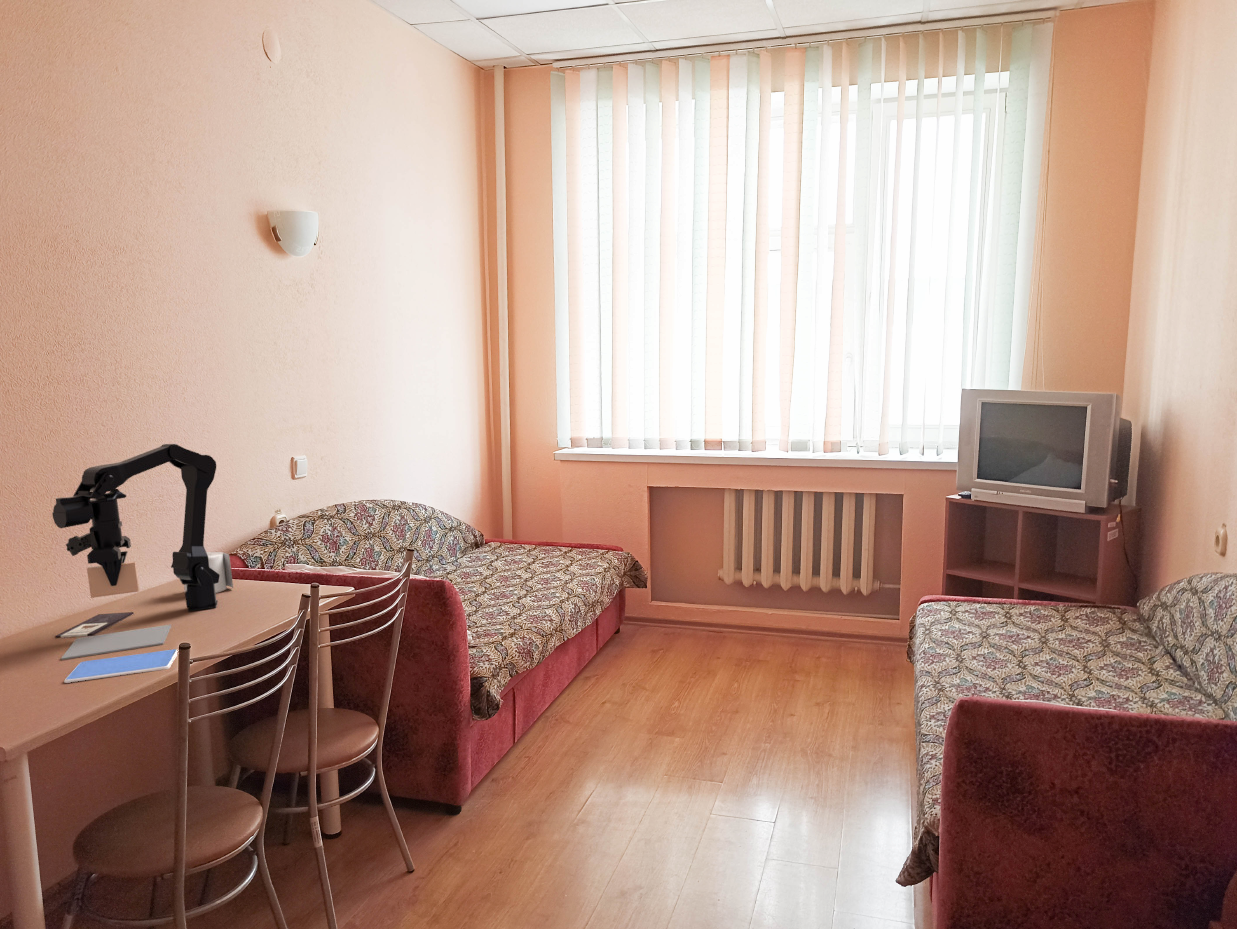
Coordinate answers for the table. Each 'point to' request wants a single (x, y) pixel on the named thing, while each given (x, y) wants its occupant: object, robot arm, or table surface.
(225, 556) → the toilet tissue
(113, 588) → the tile
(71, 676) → the tablet computer
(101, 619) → the chocolate bar
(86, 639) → the mat
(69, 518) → the robot arm
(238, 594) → the table surface
